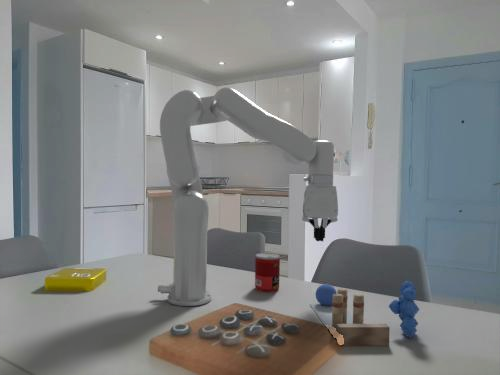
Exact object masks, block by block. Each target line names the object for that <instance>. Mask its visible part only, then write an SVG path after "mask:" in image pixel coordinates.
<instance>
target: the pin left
mask: <svg viewBox="0 0 500 375" xmlns="http://www.w3.org/2000/svg"><path fill="white" fill-rule="evenodd" d="M337 324H343V295H341V294H333V301H332V327H334V328H337Z"/></svg>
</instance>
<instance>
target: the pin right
mask: <svg viewBox="0 0 500 375" xmlns="http://www.w3.org/2000/svg"><path fill="white" fill-rule="evenodd" d="M352 302H353V303H352V316H353V324H364V320H365V318H364V312H365V295H364V294H361V293H354V294H353V299H352Z"/></svg>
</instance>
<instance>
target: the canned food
mask: <svg viewBox="0 0 500 375" xmlns="http://www.w3.org/2000/svg"><path fill="white" fill-rule="evenodd" d="M254 264H255V265H254V266H255V267H254V272H255V273H254V288H255V290H257V291H259V292H263V293H273V292H277V291H279V288H280V275H281V274H280V272H281V270H280V266H281V256H280V255H279V254H276V253H268V252H267V253H265V252H264V253H263V252H262V253H256V254H255V262H254Z"/></svg>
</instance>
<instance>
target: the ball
mask: <svg viewBox="0 0 500 375" xmlns="http://www.w3.org/2000/svg"><path fill="white" fill-rule="evenodd" d="M333 294H337V290H336V289H335V287H334V286H332V285H330V284H328V283H325V284H324V283H323V284H321V285H319V286H318V287H317V288H316V290H315V298H316V300H317V302H318V304H321V305H324V306H330V305H332V301H333Z"/></svg>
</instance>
